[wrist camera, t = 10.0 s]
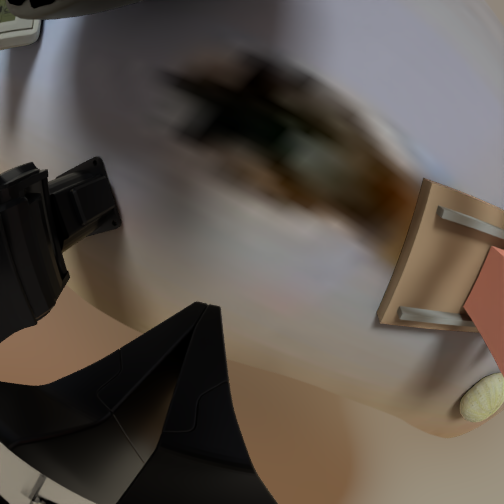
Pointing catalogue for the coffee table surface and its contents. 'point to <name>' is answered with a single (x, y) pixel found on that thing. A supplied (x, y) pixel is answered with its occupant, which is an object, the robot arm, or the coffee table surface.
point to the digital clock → (16, 29)
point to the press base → (441, 260)
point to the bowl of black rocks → (61, 8)
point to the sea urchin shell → (483, 398)
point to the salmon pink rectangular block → (490, 304)
